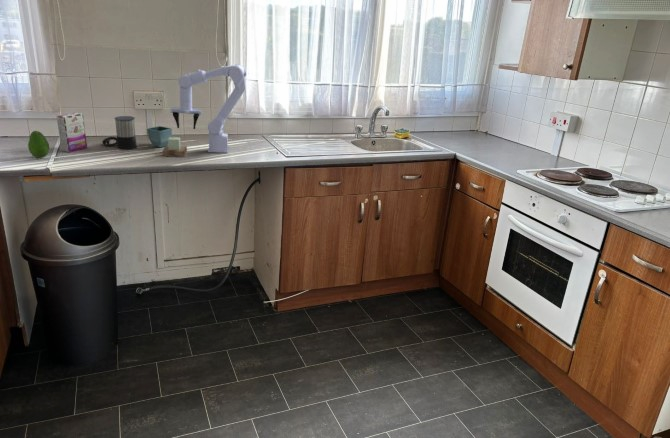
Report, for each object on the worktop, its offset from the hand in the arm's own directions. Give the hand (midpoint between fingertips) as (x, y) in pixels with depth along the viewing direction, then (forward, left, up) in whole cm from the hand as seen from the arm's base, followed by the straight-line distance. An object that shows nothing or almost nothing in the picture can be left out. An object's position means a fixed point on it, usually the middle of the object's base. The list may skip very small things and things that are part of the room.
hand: (186, 128), depth 250 cm
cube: (+5, +10, -8) cm, 14 cm away
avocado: (+59, +24, -11) cm, 65 cm away
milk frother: (+32, 0, -11) cm, 34 cm away
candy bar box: (+50, +8, -11) cm, 52 cm away
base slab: (+4, +10, -10) cm, 15 cm away
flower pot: (+13, -4, -11) cm, 18 cm away
